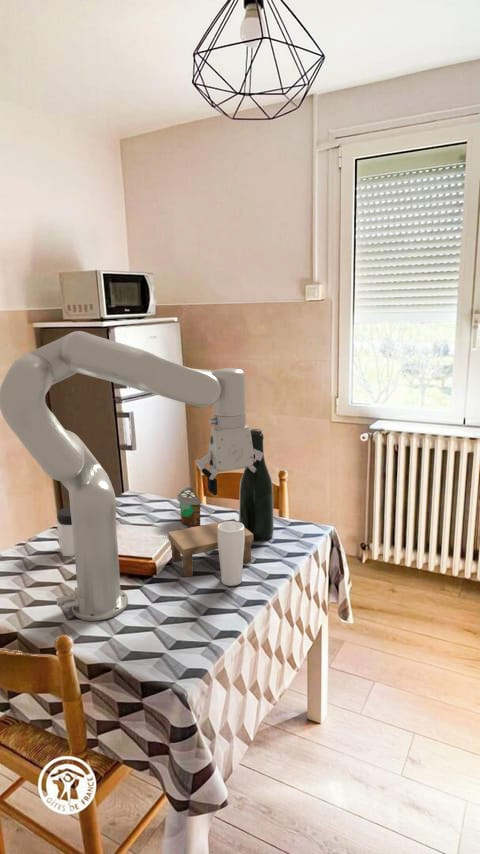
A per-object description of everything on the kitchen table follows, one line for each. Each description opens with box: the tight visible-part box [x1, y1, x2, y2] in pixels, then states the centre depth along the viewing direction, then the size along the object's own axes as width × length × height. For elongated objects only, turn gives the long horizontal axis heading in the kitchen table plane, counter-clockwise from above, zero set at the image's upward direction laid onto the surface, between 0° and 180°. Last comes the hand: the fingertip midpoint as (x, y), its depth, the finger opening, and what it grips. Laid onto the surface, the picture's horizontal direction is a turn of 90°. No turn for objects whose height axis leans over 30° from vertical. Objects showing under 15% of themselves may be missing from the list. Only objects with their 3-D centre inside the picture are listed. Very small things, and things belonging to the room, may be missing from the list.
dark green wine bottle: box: [238, 428, 275, 542], centre depth 157 cm, size 10×10×33 cm
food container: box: [176, 486, 202, 528], centre depth 169 cm, size 12×6×10 cm, turn 17°
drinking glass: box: [217, 521, 245, 587], centre depth 131 cm, size 7×7×15 cm
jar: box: [56, 506, 75, 557], centre depth 150 cm, size 9×8×12 cm
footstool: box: [167, 518, 254, 578], centre depth 143 cm, size 20×12×8 cm, turn 117°
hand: (231, 490), depth 128 cm, fingers open, 9 cm apart
